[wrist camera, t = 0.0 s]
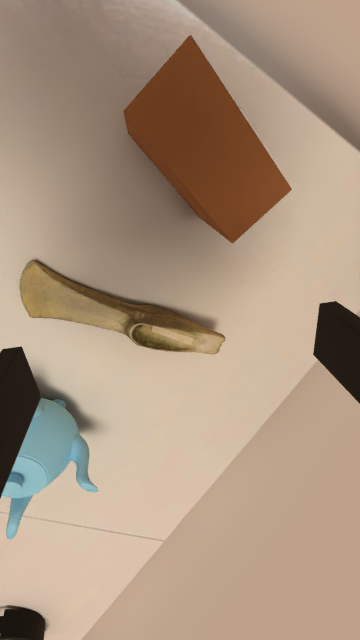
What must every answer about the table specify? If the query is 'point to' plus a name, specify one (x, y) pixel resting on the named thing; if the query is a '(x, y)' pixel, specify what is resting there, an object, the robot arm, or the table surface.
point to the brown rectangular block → (204, 144)
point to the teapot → (45, 458)
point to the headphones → (21, 625)
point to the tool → (112, 313)
